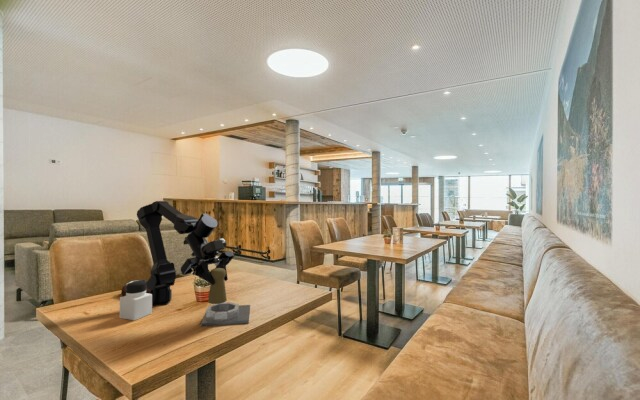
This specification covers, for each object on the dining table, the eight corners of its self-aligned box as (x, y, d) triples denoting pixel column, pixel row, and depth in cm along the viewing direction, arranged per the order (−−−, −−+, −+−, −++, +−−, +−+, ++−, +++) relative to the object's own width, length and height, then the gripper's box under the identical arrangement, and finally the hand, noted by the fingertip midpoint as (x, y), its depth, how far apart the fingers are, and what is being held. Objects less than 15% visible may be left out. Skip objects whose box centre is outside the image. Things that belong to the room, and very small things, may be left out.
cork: (207, 299, 104) (207, 267, 104) (225, 297, 106) (225, 265, 106) (208, 305, 98) (209, 271, 98) (227, 302, 101) (228, 269, 101)
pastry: (118, 294, 130) (118, 280, 130) (148, 288, 139) (148, 275, 139) (126, 300, 123) (126, 285, 123) (157, 293, 132) (157, 279, 132)
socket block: (201, 326, 97) (201, 315, 97) (208, 309, 112) (208, 300, 112) (248, 323, 100) (248, 312, 100) (250, 307, 115) (250, 298, 115)
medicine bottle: (152, 313, 108) (152, 280, 108) (134, 321, 101) (134, 285, 101) (137, 311, 110) (137, 278, 110) (118, 318, 103) (119, 283, 104)
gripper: (186, 233, 96) (209, 273, 91) (231, 229, 112) (252, 262, 107) (171, 255, 100) (191, 294, 95) (216, 248, 116) (236, 281, 111)
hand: (220, 282), depth 102 cm, fingers closed on cork, 5 cm apart
